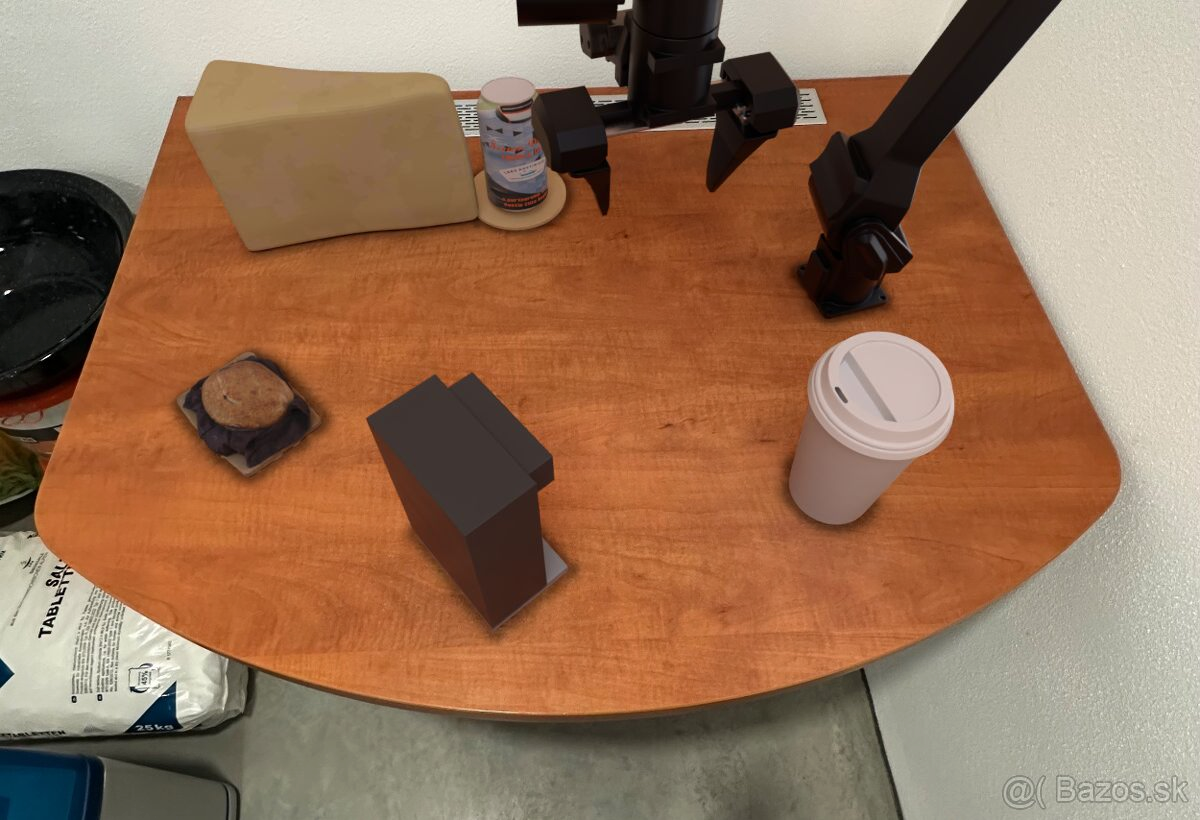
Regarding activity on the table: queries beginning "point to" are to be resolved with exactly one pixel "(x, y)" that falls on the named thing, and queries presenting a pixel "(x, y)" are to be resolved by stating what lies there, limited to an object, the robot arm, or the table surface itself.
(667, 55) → the robot arm
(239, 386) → the bread roll
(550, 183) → the coaster
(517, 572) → the coffee machine
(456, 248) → the table surface
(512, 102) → the beverage can
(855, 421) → the coffee cup
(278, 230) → the tan wedge block
